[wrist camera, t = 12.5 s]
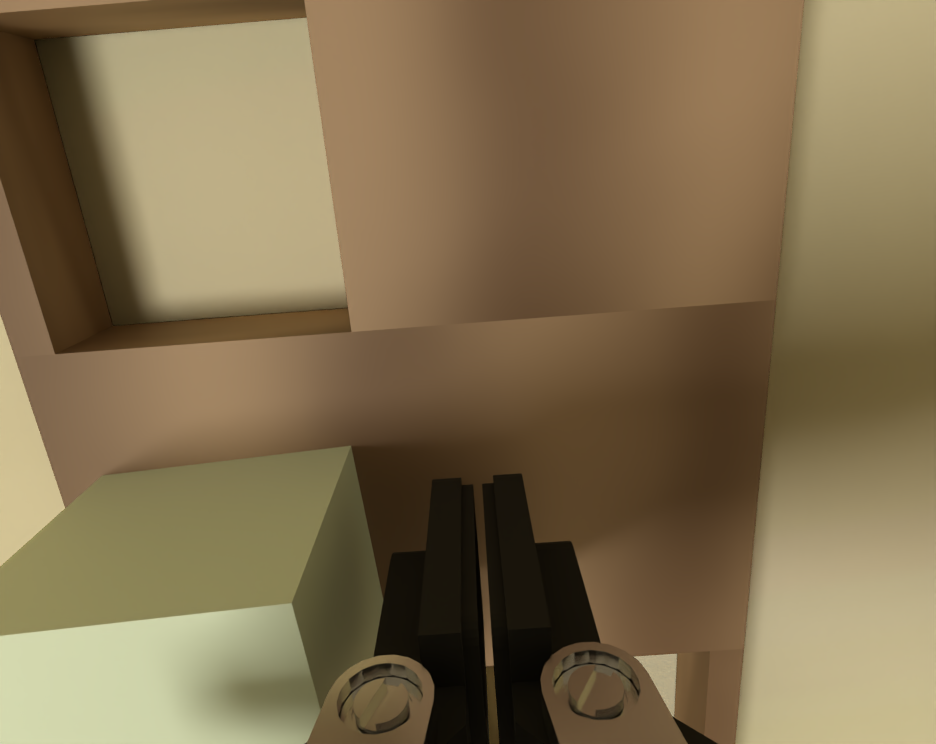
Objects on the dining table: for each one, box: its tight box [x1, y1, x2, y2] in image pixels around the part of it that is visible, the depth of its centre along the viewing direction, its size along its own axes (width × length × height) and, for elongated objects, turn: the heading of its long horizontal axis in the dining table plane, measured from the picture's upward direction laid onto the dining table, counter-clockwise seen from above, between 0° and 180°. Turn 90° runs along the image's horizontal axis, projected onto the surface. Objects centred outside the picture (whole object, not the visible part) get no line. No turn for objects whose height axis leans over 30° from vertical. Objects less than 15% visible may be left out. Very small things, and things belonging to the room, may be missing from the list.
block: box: [0, 446, 383, 744], centre depth 11 cm, size 5×5×4 cm
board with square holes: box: [0, 0, 804, 744], centre depth 13 cm, size 14×25×2 cm, turn 4°
